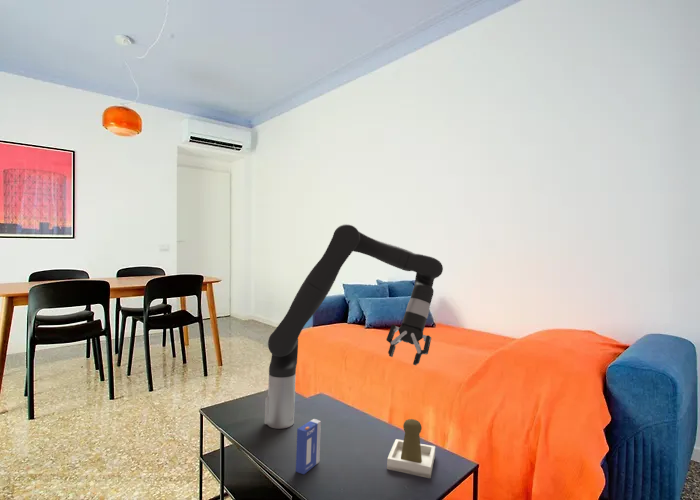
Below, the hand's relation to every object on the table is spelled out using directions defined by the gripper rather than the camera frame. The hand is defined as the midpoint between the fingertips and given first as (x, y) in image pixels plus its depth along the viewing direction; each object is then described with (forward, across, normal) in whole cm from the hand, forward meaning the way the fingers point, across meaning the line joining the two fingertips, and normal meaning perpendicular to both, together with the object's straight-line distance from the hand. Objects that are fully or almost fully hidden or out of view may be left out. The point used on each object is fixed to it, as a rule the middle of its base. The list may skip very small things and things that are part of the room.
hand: (402, 360), depth 126 cm
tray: (+26, +13, -5) cm, 30 cm away
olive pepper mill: (+26, +12, -5) cm, 29 cm away
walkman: (+36, -12, -20) cm, 43 cm away
